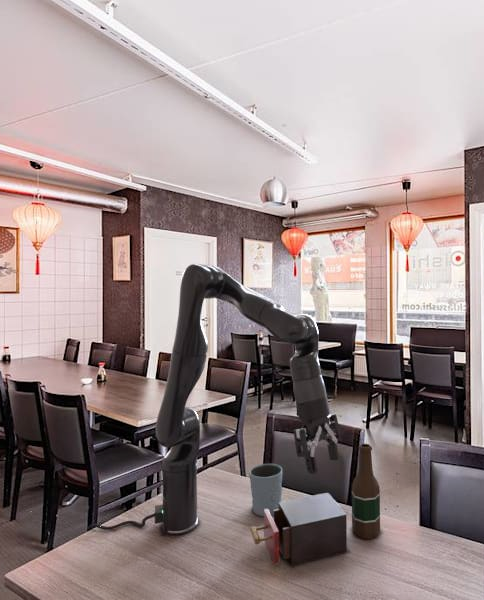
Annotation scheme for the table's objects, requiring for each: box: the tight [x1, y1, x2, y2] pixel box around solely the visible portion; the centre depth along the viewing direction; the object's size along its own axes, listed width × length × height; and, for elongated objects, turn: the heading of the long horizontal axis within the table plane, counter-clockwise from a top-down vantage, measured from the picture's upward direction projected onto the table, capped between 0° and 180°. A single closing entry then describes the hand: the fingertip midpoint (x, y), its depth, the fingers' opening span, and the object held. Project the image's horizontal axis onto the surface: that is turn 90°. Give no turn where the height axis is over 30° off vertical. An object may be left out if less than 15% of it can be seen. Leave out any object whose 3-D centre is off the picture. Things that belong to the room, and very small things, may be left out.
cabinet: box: [278, 492, 348, 566], centre depth 109 cm, size 15×13×10 cm
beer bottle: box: [351, 443, 381, 540], centre depth 114 cm, size 8×8×24 cm
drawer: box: [249, 509, 291, 565], centre depth 106 cm, size 18×11×8 cm, turn 111°
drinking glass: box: [249, 463, 283, 517], centre depth 127 cm, size 10×10×12 cm
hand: (324, 466), depth 97 cm, fingers open, 8 cm apart
